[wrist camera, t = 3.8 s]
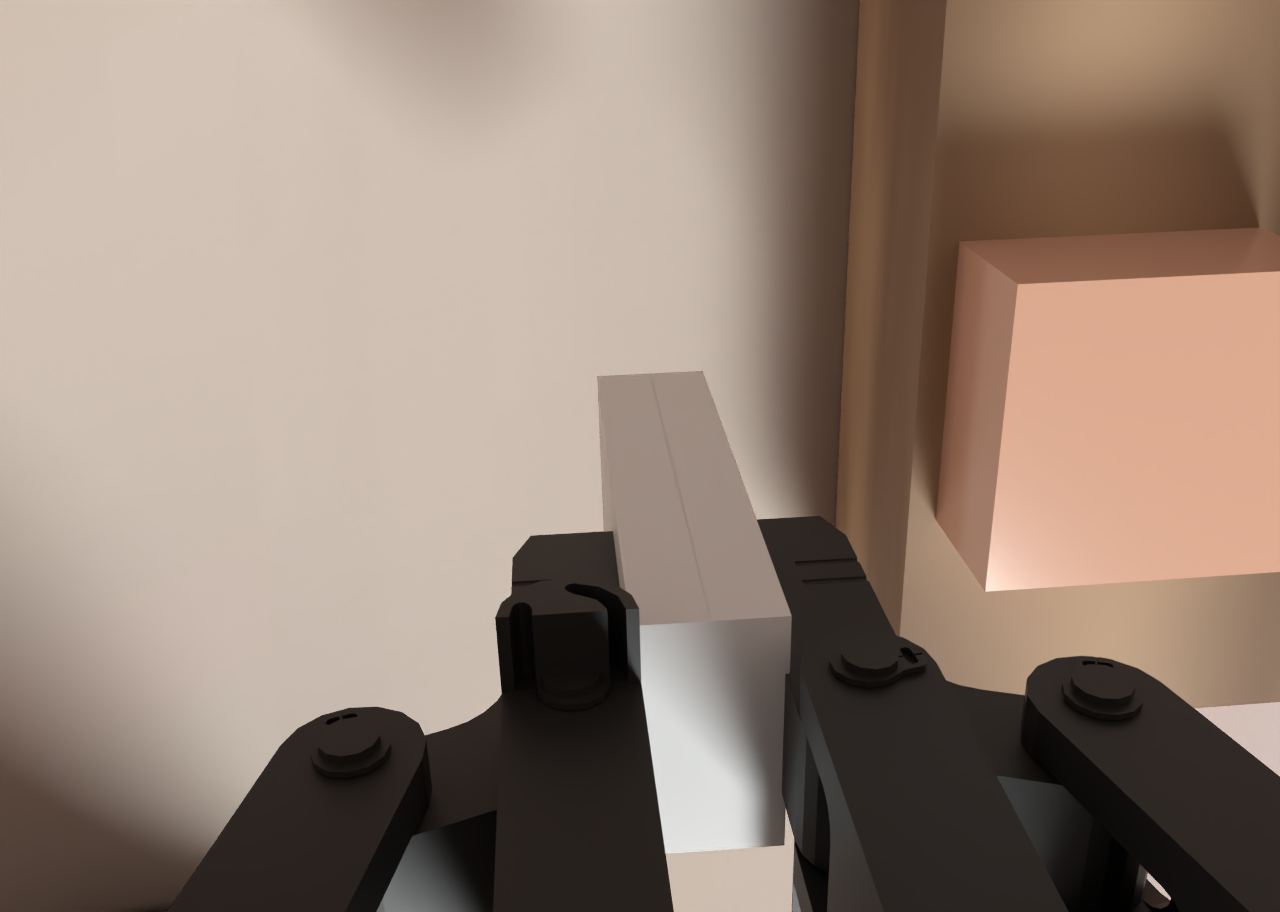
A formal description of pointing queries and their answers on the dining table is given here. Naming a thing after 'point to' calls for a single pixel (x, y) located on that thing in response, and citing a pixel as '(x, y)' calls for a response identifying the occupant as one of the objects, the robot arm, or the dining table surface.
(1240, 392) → the terracotta tile
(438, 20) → the dining table surface
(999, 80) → the brown block
